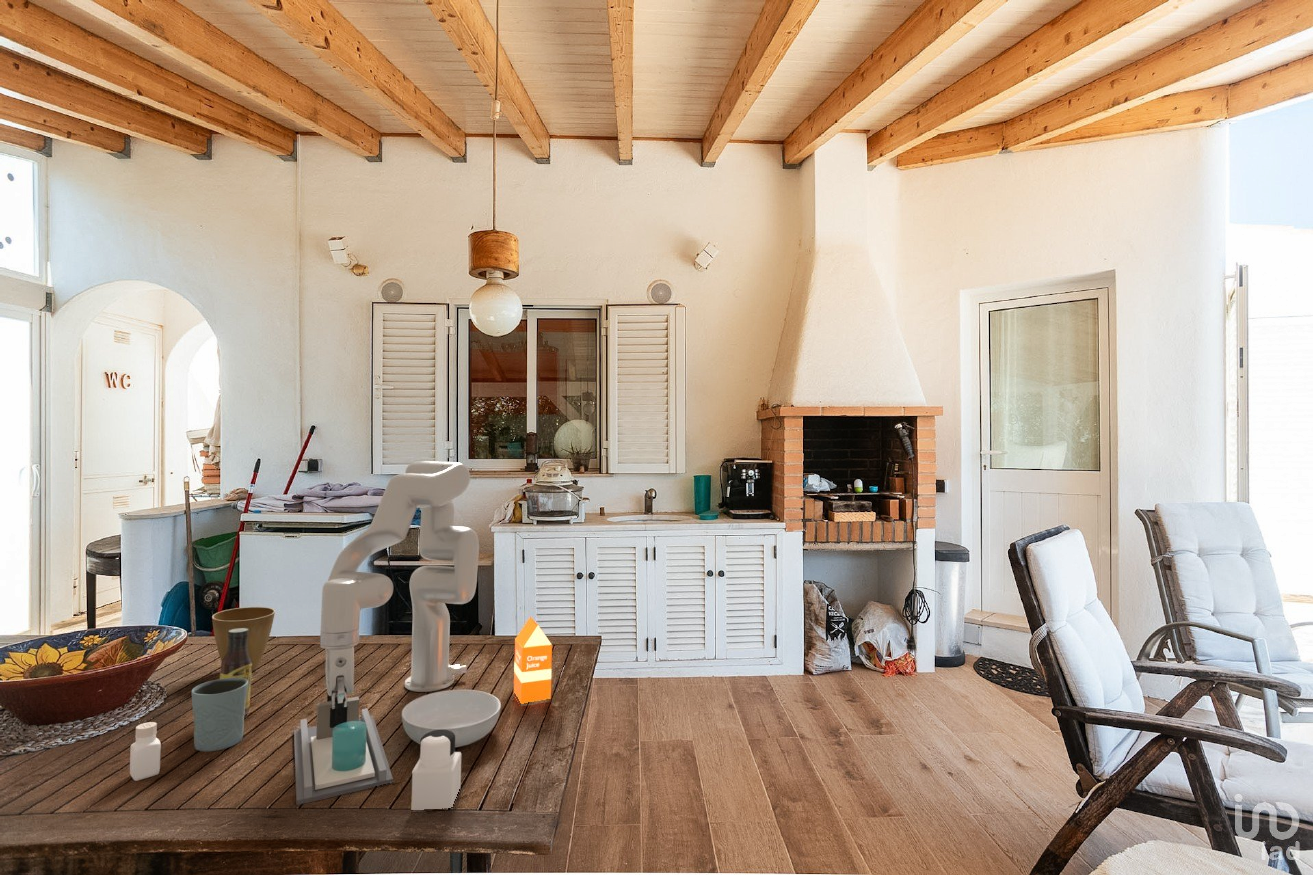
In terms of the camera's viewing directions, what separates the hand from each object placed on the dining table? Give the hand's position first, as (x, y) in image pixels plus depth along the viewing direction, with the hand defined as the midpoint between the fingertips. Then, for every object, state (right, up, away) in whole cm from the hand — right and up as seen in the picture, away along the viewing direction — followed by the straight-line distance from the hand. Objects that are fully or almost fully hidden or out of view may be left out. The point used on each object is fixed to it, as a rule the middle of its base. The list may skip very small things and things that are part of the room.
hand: (336, 717), depth 137 cm
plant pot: (-48, -5, +42) cm, 64 cm away
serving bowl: (+24, -6, +4) cm, 25 cm away
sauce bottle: (-30, -5, +13) cm, 33 cm away
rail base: (+4, -5, -6) cm, 9 cm away
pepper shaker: (-29, -5, -15) cm, 33 cm away
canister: (+8, -4, -12) cm, 15 cm away
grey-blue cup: (-25, -5, 0) cm, 26 cm away
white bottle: (+29, -6, -21) cm, 36 cm away
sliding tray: (+5, -5, -8) cm, 11 cm away
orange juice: (+37, -7, +27) cm, 46 cm away
